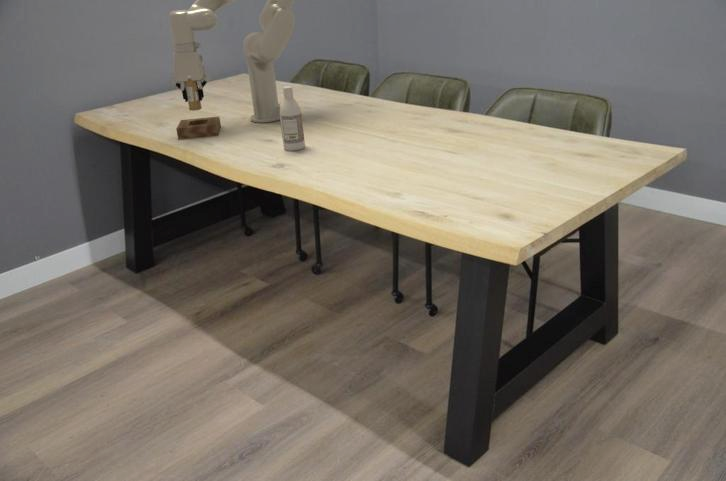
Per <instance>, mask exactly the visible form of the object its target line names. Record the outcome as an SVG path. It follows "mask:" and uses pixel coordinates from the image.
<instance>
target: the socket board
mask: <svg viewBox="0 0 726 481" xmlns="http://www.w3.org/2000/svg"><path fill="white" fill-rule="evenodd" d="M221 127H222V124H221V118H220V116H209V117H201V118H200V117H199V118H189V119H187V118H186V119H180V121H179V122H178V125H177V127H176V129H175V130H176V135H177V140H179V141H180V140H190V139H198V138H199V139H200V138H209V137H211V138H212V137H218V136H219V135H220V131H221Z"/></svg>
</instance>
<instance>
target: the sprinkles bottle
mask: <svg viewBox="0 0 726 481" xmlns="http://www.w3.org/2000/svg"><path fill="white" fill-rule="evenodd" d="M187 78H189V79H188V81H186V82H185V88H186V93H187V99H188V101H187V104H188V110H189V111H200V110H201V109H202V104H201V102H202V101H200V100H199V94H198V89H199V88H198V87H199V86H198V84H197V81H192V80H191V78H192V77H191V76H190V75H188V76H187Z"/></svg>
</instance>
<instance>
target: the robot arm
mask: <svg viewBox="0 0 726 481" xmlns="http://www.w3.org/2000/svg"><path fill="white" fill-rule="evenodd" d="M234 2H235V3H236V2H237V0H195V2H194V3H193V4H191V6H190V7H189V8H188V9H179V10H172V11H170V13H169V15H168V16H169V19H168V20H169V24H170V30H171V37H172V42H173V48H174V52H173V54H172V56H173V58H172V60H173V75H172V77H171V79H170V81H169V82H170V84H172V85H173V86H175V87H176V88H178V89H179V90H180V91H181V93H182V98H183V100H185V103H188V99H187V93H186V87H185V82H186V81H188V79H189V78H187V76H188V75H190V76H191V77H192V78H191V80H192V81H197V84H198V94H199V100H200V102H202V101H203V98H205V95H204V89H203V88H204V87H205V86H206V84H208V83H209V82H210V81H211V79H212V76H211V75H209V73H208V72H207V71H206V70H205V65H204V62H203V61H204V60H203V57H202V52H201V51H200V50H199V48H202V44H201V43H200V42H199V43H198V42H197V41H196V34H195V32H196V31H201V32H206V31H207V32H208V31H211V30H213V29H215V28H216V26H217V23H218V16H217V14H216V12H218V11H219V9H221V8H223V7H225V6H228V5H229V4H232V3H234ZM294 2H295V0H266V3H265V5H264V7H263V9H262V11H261V12H260V14H259V18H258V22H259V26H260V28H261V29H262V30H263V32H259V31H258V32H256V31H255V32H250V33H249V34H247V35H246V37H245V38H244V40H243V44H242V50H243V54H244V58H245V62H246V66H247V71H248V73H247V74H248V78H249V79H248V80H249V87H250V93H251V100H252V107H253V114H252V115H251V116H250V117H249V118H250V121H251V122H253V123H261V124H262V123H271V122H276V121H280V107H281V105H280V103H279V98H278V90H277V80H276V73H275V66H274V62H275V61H277V60H278V59H279V58H280V56H281V55H282V53H283V51H284V49H285V48H286V45H287V43H288V42H289V39H290V37H291V36H292V34H293V32H294V30H295V25H296V20H295V15H294V12H292V10H291V9H292V6H293V4H294Z"/></svg>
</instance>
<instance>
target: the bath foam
mask: <svg viewBox="0 0 726 481" xmlns="http://www.w3.org/2000/svg"><path fill="white" fill-rule="evenodd" d="M282 90H283V91H282V93H283V98H284V99H283V100H282V102H281V105H280V120H279V122H280V127H281V137H282V144H283V149H284V150H286V151H287V152H289V151H290V152H292V151H293V152H295V151H300V150H302V149H304V148H305V147H306V143H305V132H304V123H303V115H302V114H303V113H302V109H301V106H300V105H299V103H298V101H297V100H296V99H295V98H294V91H293V86H292V85H285V86H283V87H282Z"/></svg>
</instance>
